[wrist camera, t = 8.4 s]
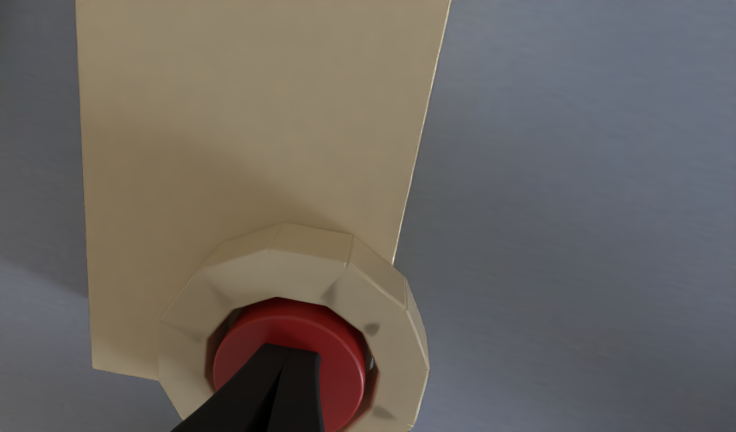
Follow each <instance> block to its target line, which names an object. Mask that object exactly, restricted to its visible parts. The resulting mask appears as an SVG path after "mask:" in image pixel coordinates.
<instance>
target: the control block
mask: <svg viewBox="0 0 736 432" xmlns="http://www.w3.org/2000/svg"><path fill="white" fill-rule="evenodd" d="M450 5H451V0H75V10H76V31H77V53H78V74H79V96H80V117H81V139H82V160H83V182H84V203H85V225H86V246H87V268H88V289H89V311H90V332H91V354H92V368H93V369H97V370H103V371H108V372H114V373H119V374H124V375H130V376H135V377H141V378H146V379H152V380H157V381H159V383H160V384H161V386H162V388H163V389H164V391H165V393H166V394H167V396H168V397H169V399H170V401H171V402H172V404H173V406H174V407H175V409H176V410H177V412H178V414H179V415H180V417H181V419H182V420H183V421H184V420H185V419H186V418H187V417H188V416H190V415H191V414H192V413H193V412H194V411H196V410H197V409H198V408H199V407H200V406H201V405H203V404H204V403H205V402H206V401H207V400H208V399H209V398H210V397H211V396H212V395H213V394H214V393H215V392H217V391H216V388H215V385H214V379H213V364H214V358H215V355H216V352H217V350H218V348H219V346H220V344H221V342H222V341H223V339H224V338H225V336H226V334H227V333H228V331H229V329H230V328H231V326H232V325H233V323H234V321H235V320H236V318H237V316H238V315H239V313H240V312H241V310H242V308H243V307H244V306H247V305H250V304H253V303H257V302H260V301H263V300H267V299H270V298H273V297H282V298H287V299H293V300H298V301H303V302H309V303H314V304H319V305H325V306H327V307H329V308H330V309H331V310H333V311H334V312H335V313H337V314H338V315H339V316H341V317H342V318H343V319H345V320H346V321H347V322H349V323H350V324H351V325H353V326H354V327H355V328H357V329H358V330H359V331H361V332H362V333H363V335H364V338H365V340H366V342H367V345H368V351H367V362H366V373H365V384H364V392H363V397H362V400H361V403H360V405H359V407H358V409H357V411H356V412H355V414H354V415H353V416H352V418H351V419H350V420H349V421H348V422H347V423H346V424H345V425H343V426H342V427H341V428H340V429H338V430H336V431H335V432H408V431H409V430H411V429H412V428H413V425H414V424H415V422H416V419H417V416H418V412H419V408H420V405H421V401H422V398H423V394H424V391H425V387H426V383H427V380H428V376H429V373H430V363H429V355H428V346H427V338H426V330H425V327H424V325H423V322H422V319H421V317H420V314H419V311H418V308H417V306H416V303H415V300H414V297H413V295H412V292H411V289H410V287H409V284H408V281H407V279H406V278H405V277H404V275H402V274H401V273H400V272H399V271H397V270H396V269H395V268H394V267H393V263H394V258H395V254H396V249H397V245H398V240H399V236H400V231H401V227H402V222H403V218H404V213H405V209H406V204H407V199H408V195H409V190H410V186H411V181H412V177H413V172H414V168H415V163H416V159H417V154H418V150H419V145H420V141H421V136H422V132H423V127H424V122H425V118H426V113H427V109H428V104H429V100H430V95H431V91H432V86H433V82H434V77H435V73H436V68H437V64H438V59H439V55H440V50H441V46H442V41H443V36H444V32H445V27H446V23H447V18H448V14H449V9H450ZM372 358H373V359H374V364H373V368H372V369H370V367H371V362H372Z"/></svg>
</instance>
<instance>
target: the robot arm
mask: <svg viewBox="0 0 736 432" xmlns="http://www.w3.org/2000/svg"><path fill="white" fill-rule="evenodd" d="M321 358H322V357H321V356H320V355H319V353H318V352H314V351H308V350H303V349H297V348H292V347H287V346H281V345H276V344H270V343H265V344H263V345H261V346H260V347H259V349H258V350H257V351H256V352H255V353H254V354H253V355H252V356H251V358H250V359H249V360H248V361H247V362H246V363H245V364H244V365H243V366H242V367H241V368H240V369H239V370H238V371H237V372H236V373H235V374H234V375H233V376H232V377H231V378H230V379H229V380H228V381H227V382H226V383H225V384H224V385H223V386H222V387H221V388H220V389H219V390H218V391H217V392H215V393H214V394H213V395H212V396H211V397H210V398H209V399H208V400H207V401H206V402H205V403H204V404H203V405H201V406H200V407H199V408H198V409H197V410H196V411H194V412H193V413H192V414H191V415H190V416H188V417H187V418H186V419H185V420H184V421H183V422H181V423H180V424H179V425H178V426H177V427H175V428H174V429H173V430H172V431H171V432H325V428H324V421H323V414H322V407H321V398H320V377H319V375H320V364H321Z"/></svg>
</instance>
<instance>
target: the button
mask: <svg viewBox="0 0 736 432" xmlns="http://www.w3.org/2000/svg"><path fill="white" fill-rule="evenodd" d="M265 343H270V344H276V345H281V346H287V347H292V348H297V349H303V350H308V351H314V352H318V353H319V355H320V356H321V357H322V358H321V364H320V375H319V377H320V398H321V407H322V414H323V421H324V428H325V432H335V431H336V430H338V429H340V428H341V427H342V426H343V425H345V424H346V423H347V422H348V421H349V420H350V419H351V418H352V416H353V415H354V414H355V412H356V411H357V409H358V407H359V405H360V403H361V400H362V397H363V392H364V384H365V373H366V362H367V351H368V345H367V342H366V340H365V338H364V335H363V333H362V332H361V331H359V330H358V329H357V328H355V327H354V326H353V325H351V324H350V323H349V322H347V321H346V320H345V319H343V318H342V317H341V316H339V315H338V314H337V313H335V312H334V311H333V310H331V309H330V308H329V307H327V306H325V305H319V304H314V303H309V302H303V301H298V300H293V299H287V298H282V297H273V298H270V299H267V300H263V301H260V302H257V303H253V304H250V305H247V306H244V307H243V308H242V310H241V312H240V313H239V315H238V316H237V318H236V320H235V321H234V323H233V325H232V326H231V328H230V329H229V331H228V333H227V334H226V336H225V338H224V339H223V341H222V342H221V344H220V346H219V348H218V350H217V352H216V355H215V358H214V364H213V379H214V385H215V388H216V391H218V390H219V389H220V388H221V387H222V386H223V385H224V384H225V383H226V382H227V381H228V380H229V379H230V378H231V377H232V376H233V375H234V374H235V373H236V372H237V371H238V370H239V369H240V368H241V367H242V366H243V365H244V364H245V363H246V362H247V361H248V360H249V359H250V358H251V356H252V355H253V354H254V353H255V352H256V351H257V350H258V349H259V347H260V346H261V345H263V344H265Z"/></svg>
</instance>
